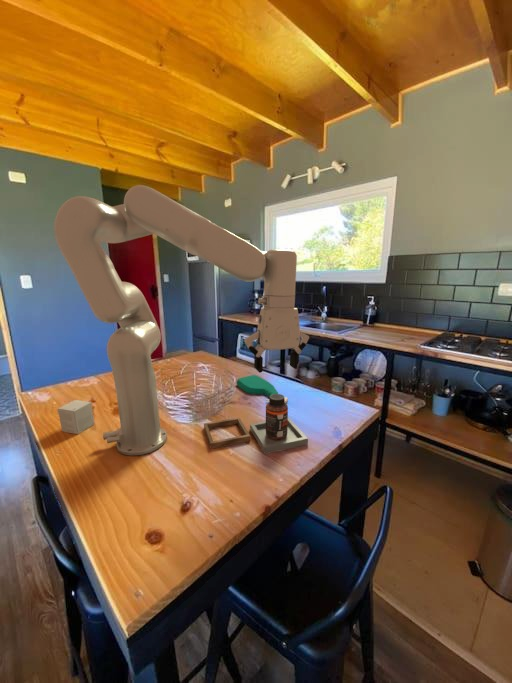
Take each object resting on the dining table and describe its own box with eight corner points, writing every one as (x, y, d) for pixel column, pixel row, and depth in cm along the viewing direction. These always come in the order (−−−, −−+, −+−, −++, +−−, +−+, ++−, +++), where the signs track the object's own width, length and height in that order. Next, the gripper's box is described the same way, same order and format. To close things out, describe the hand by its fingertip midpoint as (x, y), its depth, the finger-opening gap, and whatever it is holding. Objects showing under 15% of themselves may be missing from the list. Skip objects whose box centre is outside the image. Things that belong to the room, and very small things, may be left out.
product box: (95, 424, 87) (91, 401, 85) (77, 435, 81) (73, 411, 79) (79, 421, 89) (75, 399, 87) (61, 431, 83) (56, 408, 81)
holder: (210, 448, 74) (210, 443, 74) (204, 428, 84) (204, 423, 84) (250, 440, 78) (250, 435, 77) (239, 421, 87) (239, 417, 87)
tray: (264, 454, 72) (265, 447, 72) (250, 429, 83) (250, 424, 83) (307, 444, 76) (308, 438, 75) (288, 422, 87) (288, 417, 86)
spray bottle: (256, 380, 121) (294, 403, 101) (233, 385, 116) (269, 411, 96) (256, 373, 121) (295, 395, 101) (233, 378, 115) (269, 402, 95)
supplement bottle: (286, 442, 76) (287, 402, 73) (264, 439, 77) (263, 400, 74) (288, 430, 82) (289, 392, 79) (267, 428, 83) (267, 391, 80)
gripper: (250, 305, 64) (249, 377, 69) (318, 303, 70) (313, 370, 74) (240, 301, 71) (240, 367, 75) (303, 300, 77) (299, 361, 81)
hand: (276, 368), depth 75 cm, fingers open, 9 cm apart
